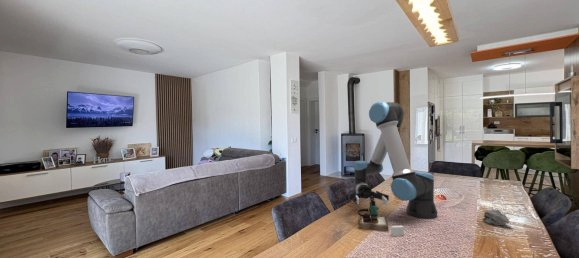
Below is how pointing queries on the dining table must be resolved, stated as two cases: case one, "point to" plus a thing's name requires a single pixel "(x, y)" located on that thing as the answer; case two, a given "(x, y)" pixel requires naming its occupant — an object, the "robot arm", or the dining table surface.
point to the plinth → (375, 224)
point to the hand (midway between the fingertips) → (372, 202)
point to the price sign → (397, 230)
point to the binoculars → (372, 211)
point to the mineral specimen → (495, 217)
